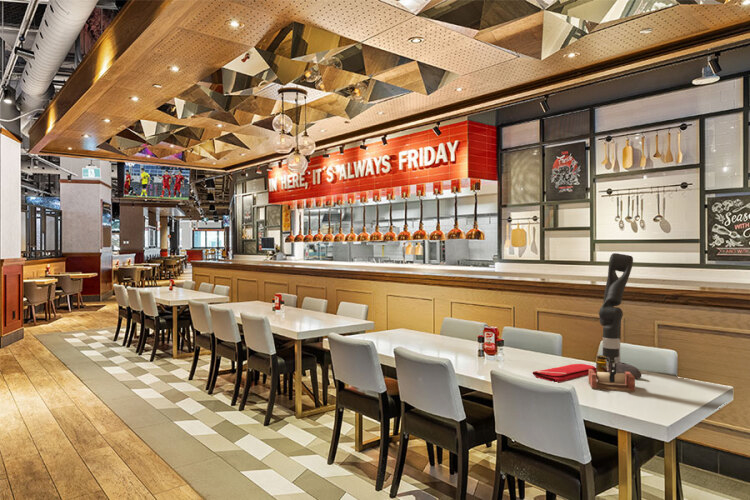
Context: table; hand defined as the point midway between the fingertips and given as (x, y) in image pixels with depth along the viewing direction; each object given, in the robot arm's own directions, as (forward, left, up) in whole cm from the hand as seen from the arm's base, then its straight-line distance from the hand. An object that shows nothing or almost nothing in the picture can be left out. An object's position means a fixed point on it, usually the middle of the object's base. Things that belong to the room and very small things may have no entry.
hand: (610, 380), depth 238 cm
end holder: (0, 0, -3) cm, 3 cm away
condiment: (-17, -2, -4) cm, 17 cm away
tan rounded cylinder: (0, 0, -1) cm, 1 cm away
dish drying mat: (-22, -18, -4) cm, 28 cm away
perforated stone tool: (-24, +13, -4) cm, 27 cm away
